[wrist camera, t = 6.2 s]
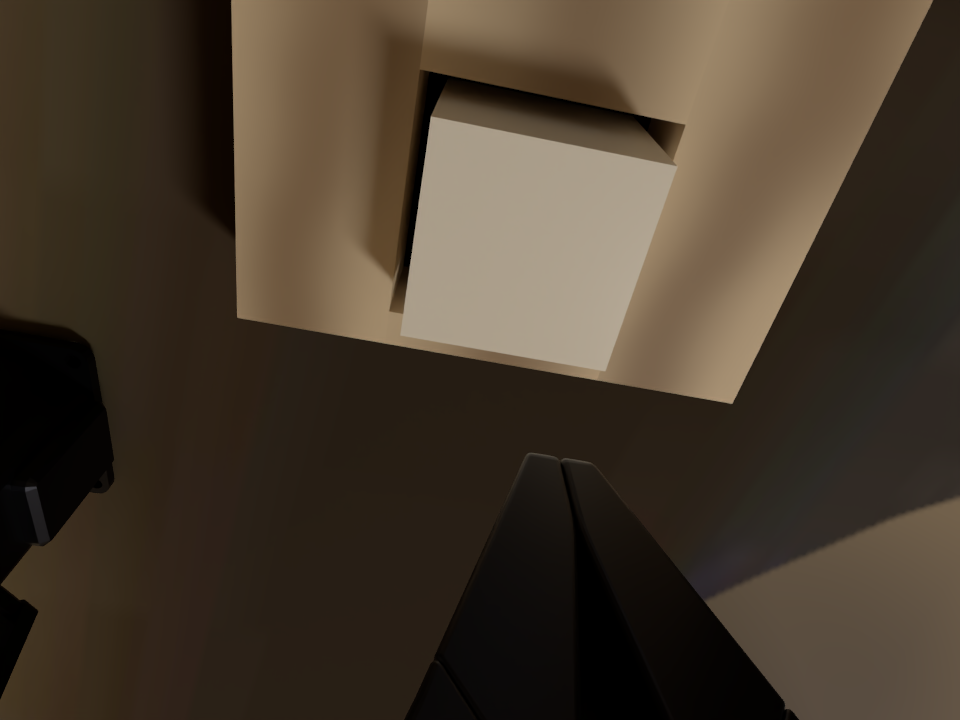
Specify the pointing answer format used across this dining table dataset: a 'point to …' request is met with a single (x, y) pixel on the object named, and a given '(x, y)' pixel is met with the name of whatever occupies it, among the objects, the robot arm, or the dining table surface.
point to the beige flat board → (575, 77)
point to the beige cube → (531, 225)
